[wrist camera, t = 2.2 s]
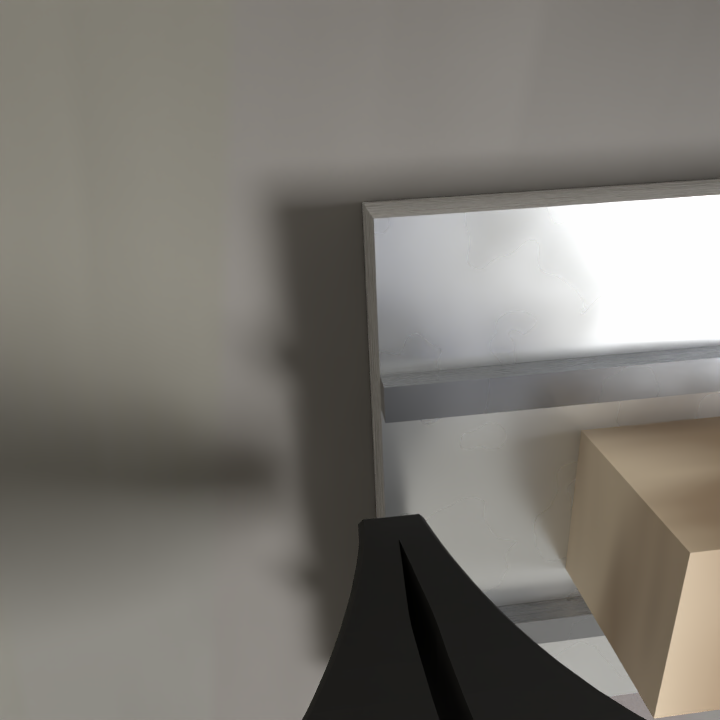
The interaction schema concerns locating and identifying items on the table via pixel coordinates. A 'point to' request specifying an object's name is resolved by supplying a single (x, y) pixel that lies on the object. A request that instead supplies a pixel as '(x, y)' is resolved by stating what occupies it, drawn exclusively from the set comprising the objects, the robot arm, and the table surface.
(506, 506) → the slotted bed
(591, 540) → the tan cube
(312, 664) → the table surface
